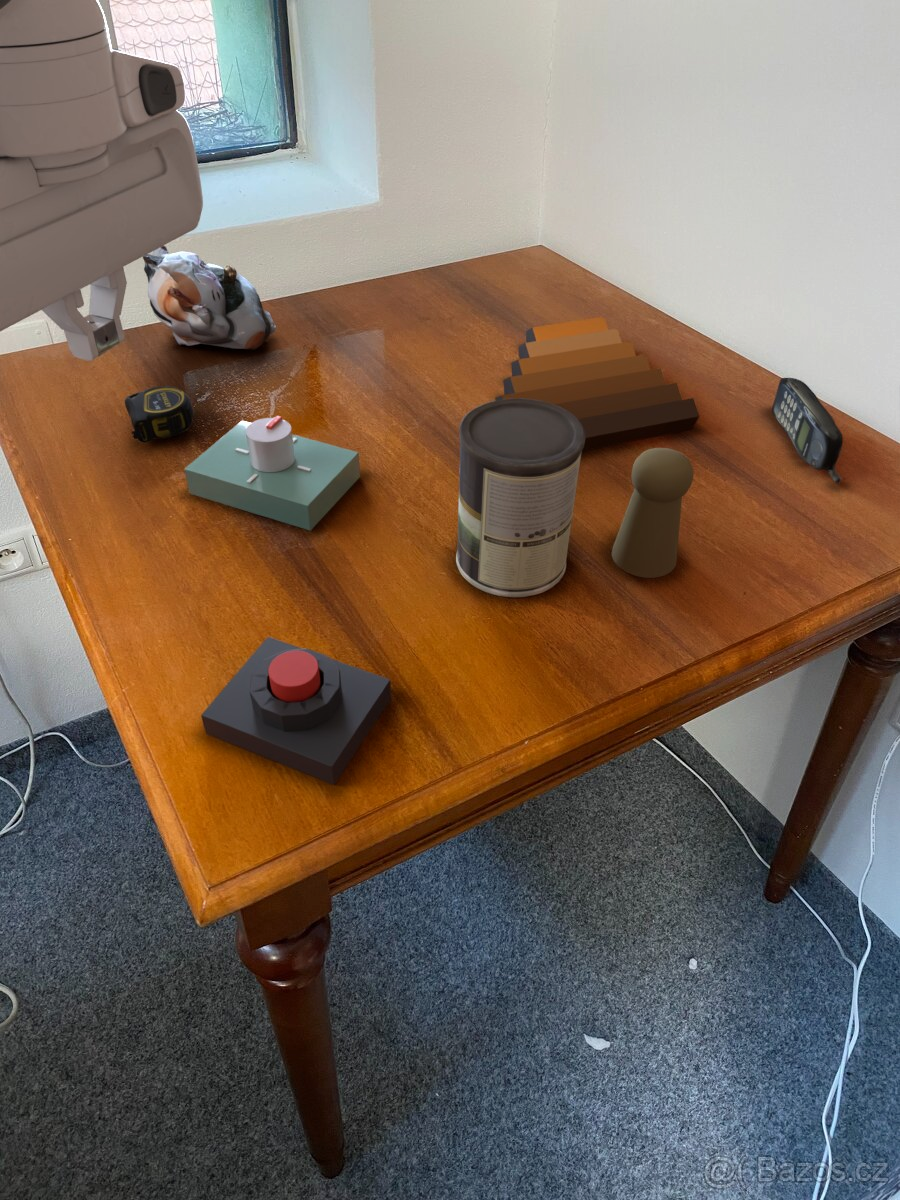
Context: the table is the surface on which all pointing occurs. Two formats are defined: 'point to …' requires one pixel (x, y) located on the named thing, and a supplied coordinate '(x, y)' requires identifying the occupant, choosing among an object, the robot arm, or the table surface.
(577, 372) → the pan flute
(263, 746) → the button block
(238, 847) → the table surface
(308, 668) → the button
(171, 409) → the tape measure
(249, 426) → the rotary dial knob
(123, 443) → the table surface
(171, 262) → the lucky cat figurine
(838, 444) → the mobile phone
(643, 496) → the game pawn
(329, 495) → the rotary dial box
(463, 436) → the coffee can
